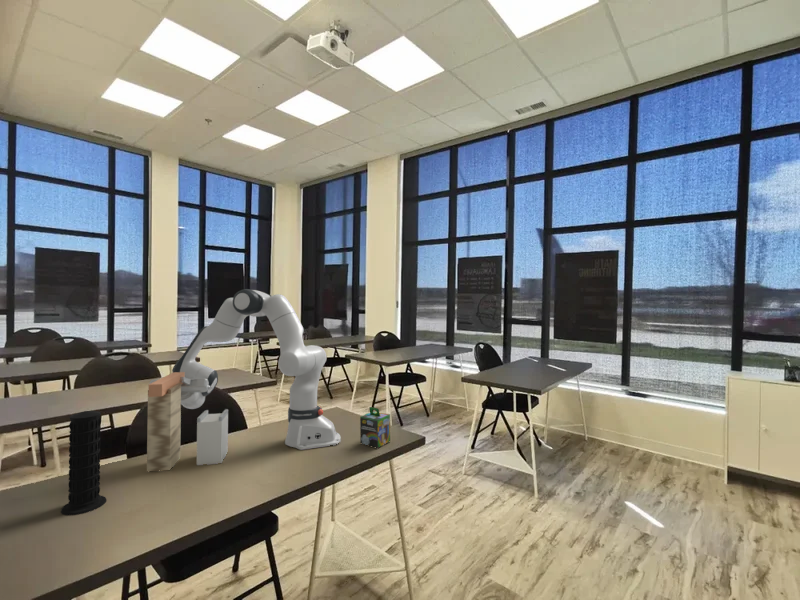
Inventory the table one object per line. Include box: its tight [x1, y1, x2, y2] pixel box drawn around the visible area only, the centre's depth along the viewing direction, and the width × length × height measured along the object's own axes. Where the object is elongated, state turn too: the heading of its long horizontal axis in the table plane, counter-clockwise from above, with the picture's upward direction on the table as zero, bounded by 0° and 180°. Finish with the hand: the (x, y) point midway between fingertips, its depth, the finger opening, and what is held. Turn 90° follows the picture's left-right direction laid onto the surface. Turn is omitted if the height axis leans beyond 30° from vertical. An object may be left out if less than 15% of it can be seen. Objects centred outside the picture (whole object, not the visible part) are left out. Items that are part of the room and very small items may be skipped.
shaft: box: [147, 372, 185, 398], centre depth 138 cm, size 4×22×4 cm, turn 12°
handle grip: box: [60, 410, 107, 516], centre depth 109 cm, size 10×26×10 cm
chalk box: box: [359, 406, 391, 449], centre depth 159 cm, size 9×9×15 cm
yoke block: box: [196, 408, 229, 466], centre depth 142 cm, size 8×10×16 cm
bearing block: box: [146, 383, 182, 472], centre depth 136 cm, size 7×10×28 cm
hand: (173, 379), depth 144 cm, fingers closed on shaft, 4 cm apart
